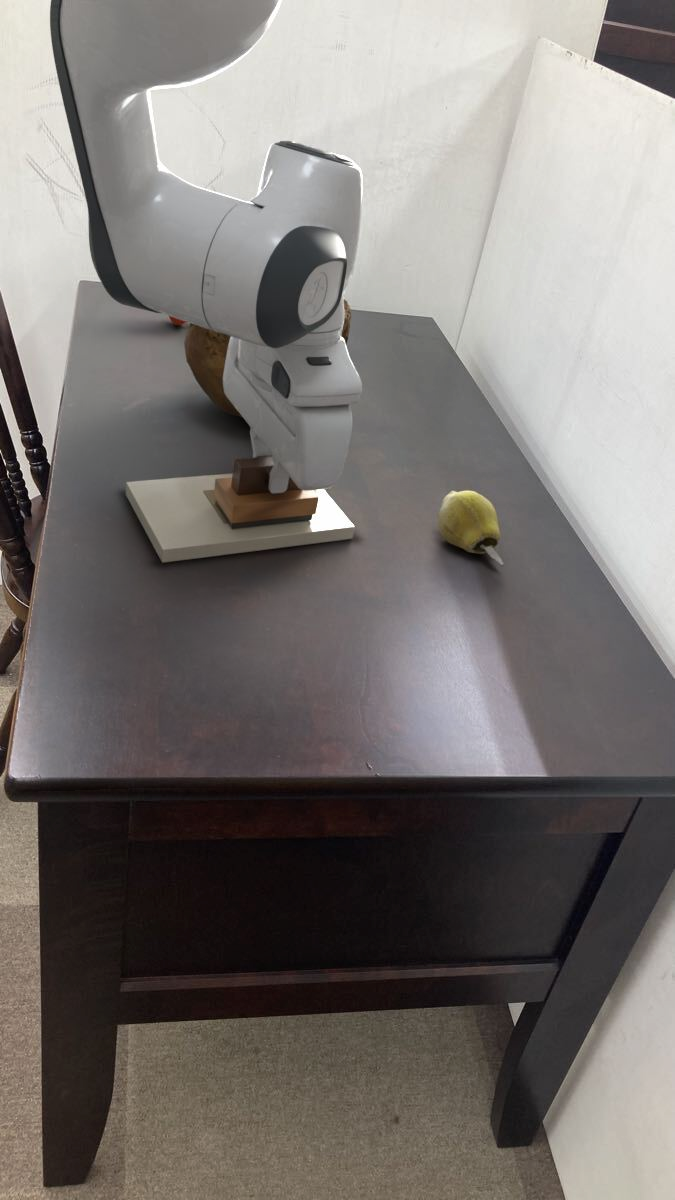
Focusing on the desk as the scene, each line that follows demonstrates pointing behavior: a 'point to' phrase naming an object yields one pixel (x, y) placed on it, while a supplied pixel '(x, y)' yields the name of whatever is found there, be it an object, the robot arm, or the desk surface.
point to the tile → (220, 521)
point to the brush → (260, 497)
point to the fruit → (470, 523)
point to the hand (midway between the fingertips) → (268, 481)
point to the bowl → (220, 359)
